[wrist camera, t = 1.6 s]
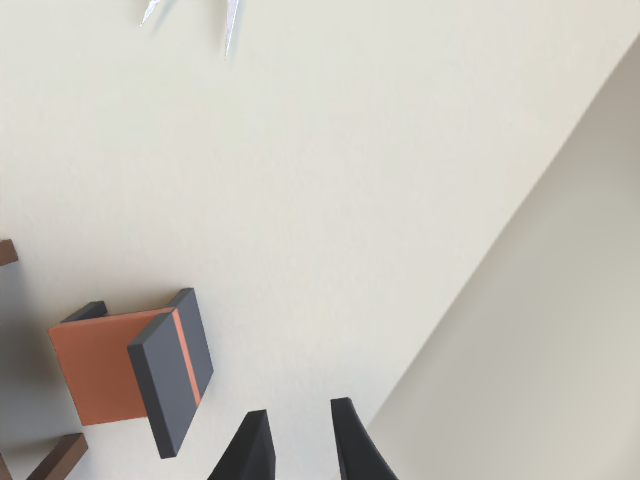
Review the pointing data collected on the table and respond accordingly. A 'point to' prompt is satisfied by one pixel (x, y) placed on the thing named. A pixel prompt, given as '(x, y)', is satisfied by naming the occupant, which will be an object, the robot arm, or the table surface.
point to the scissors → (230, 17)
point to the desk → (70, 448)
